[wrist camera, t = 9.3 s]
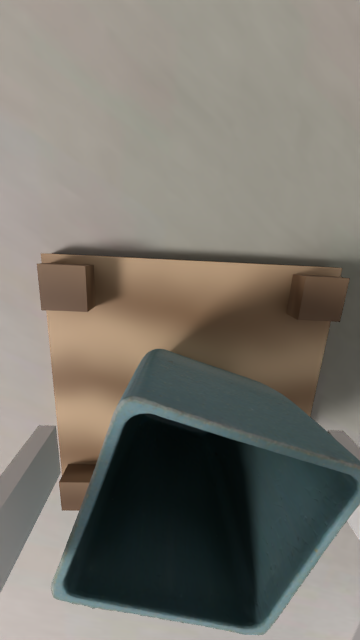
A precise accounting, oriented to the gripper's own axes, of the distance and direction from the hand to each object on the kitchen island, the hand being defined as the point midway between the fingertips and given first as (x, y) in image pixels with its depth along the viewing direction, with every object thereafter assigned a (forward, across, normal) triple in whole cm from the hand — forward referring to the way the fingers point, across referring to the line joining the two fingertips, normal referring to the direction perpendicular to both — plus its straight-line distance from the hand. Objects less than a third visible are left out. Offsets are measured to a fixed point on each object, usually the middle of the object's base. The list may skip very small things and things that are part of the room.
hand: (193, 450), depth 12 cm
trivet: (+6, 0, 0) cm, 6 cm away
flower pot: (+5, 0, 0) cm, 5 cm away
